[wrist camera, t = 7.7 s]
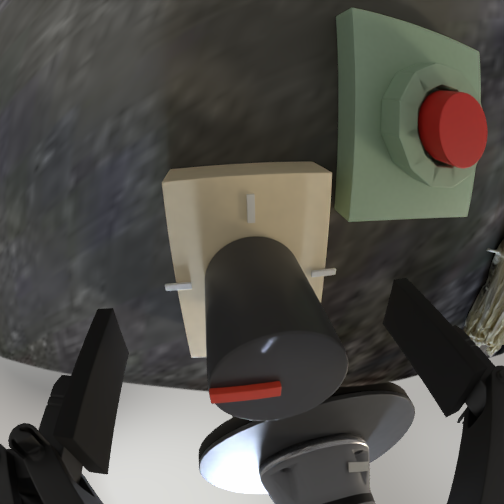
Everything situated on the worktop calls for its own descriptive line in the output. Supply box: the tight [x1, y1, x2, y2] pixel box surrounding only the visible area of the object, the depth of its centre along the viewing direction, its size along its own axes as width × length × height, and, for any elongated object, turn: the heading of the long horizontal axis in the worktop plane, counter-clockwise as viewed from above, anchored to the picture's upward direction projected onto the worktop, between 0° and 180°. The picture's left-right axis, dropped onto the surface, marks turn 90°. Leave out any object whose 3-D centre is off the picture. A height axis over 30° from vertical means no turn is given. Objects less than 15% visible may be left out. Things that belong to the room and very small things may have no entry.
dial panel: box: [162, 161, 336, 358], centre depth 17 cm, size 11×9×3 cm
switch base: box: [334, 7, 482, 222], centre depth 14 cm, size 12×10×4 cm
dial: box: [205, 236, 348, 421], centre depth 13 cm, size 5×5×7 cm
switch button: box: [418, 90, 487, 169], centre depth 12 cm, size 4×4×2 cm
